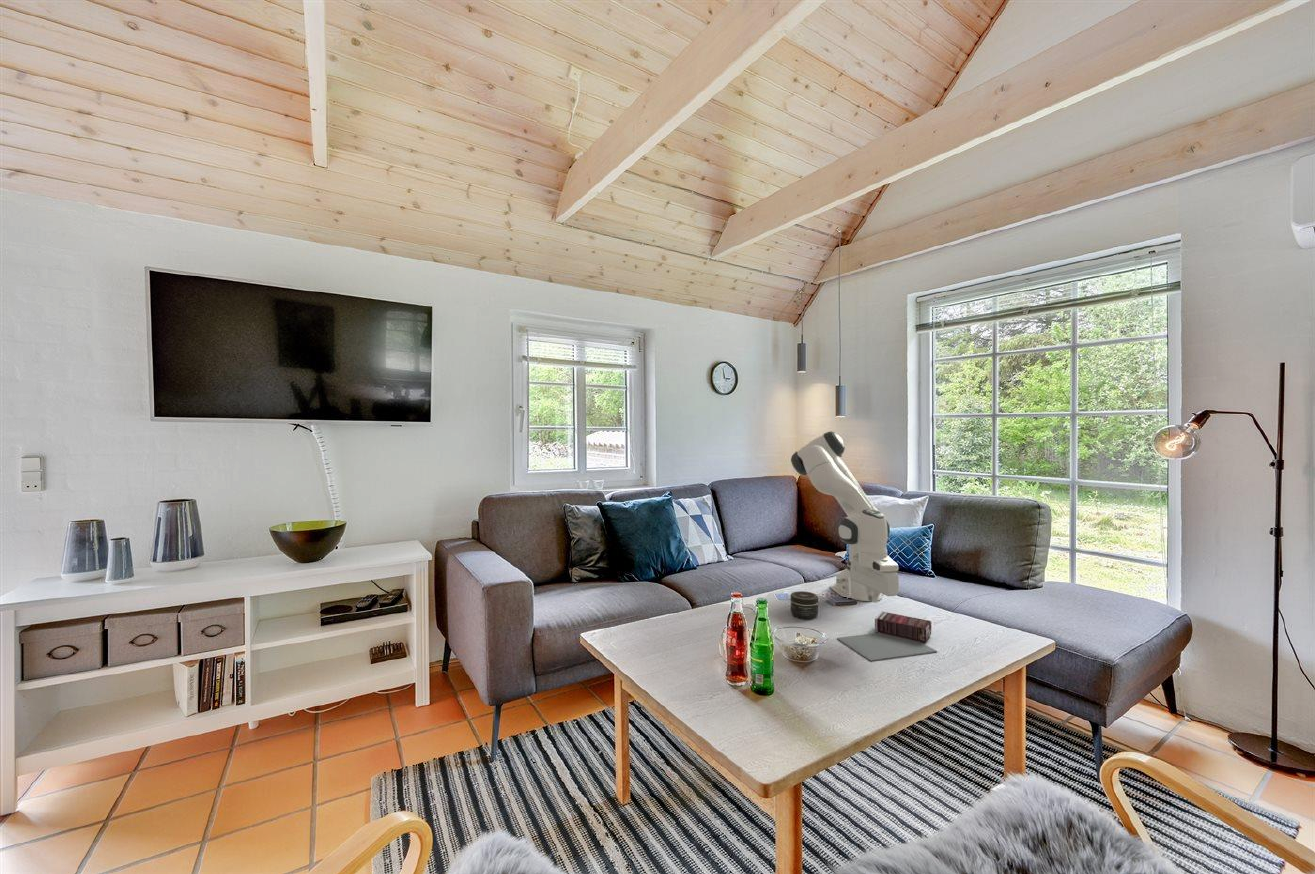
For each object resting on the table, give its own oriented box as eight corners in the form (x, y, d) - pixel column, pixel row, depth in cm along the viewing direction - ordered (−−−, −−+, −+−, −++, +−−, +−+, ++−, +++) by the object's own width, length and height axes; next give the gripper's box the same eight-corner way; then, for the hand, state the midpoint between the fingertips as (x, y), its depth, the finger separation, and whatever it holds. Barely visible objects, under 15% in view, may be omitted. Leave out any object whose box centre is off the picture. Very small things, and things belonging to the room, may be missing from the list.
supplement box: (874, 632, 177) (926, 643, 168) (874, 618, 177) (925, 628, 167) (881, 624, 184) (931, 634, 174) (881, 610, 184) (931, 620, 174)
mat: (836, 638, 172) (837, 637, 172) (898, 631, 178) (898, 630, 178) (870, 661, 156) (870, 660, 156) (937, 652, 162) (937, 650, 162)
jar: (821, 620, 189) (821, 599, 188) (794, 620, 189) (794, 599, 189) (813, 610, 199) (814, 590, 198) (787, 610, 199) (787, 590, 199)
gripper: (845, 552, 182) (845, 592, 182) (885, 568, 162) (885, 612, 163) (861, 551, 184) (860, 590, 184) (902, 566, 164) (902, 610, 164)
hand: (872, 601), depth 173 cm, fingers closed
